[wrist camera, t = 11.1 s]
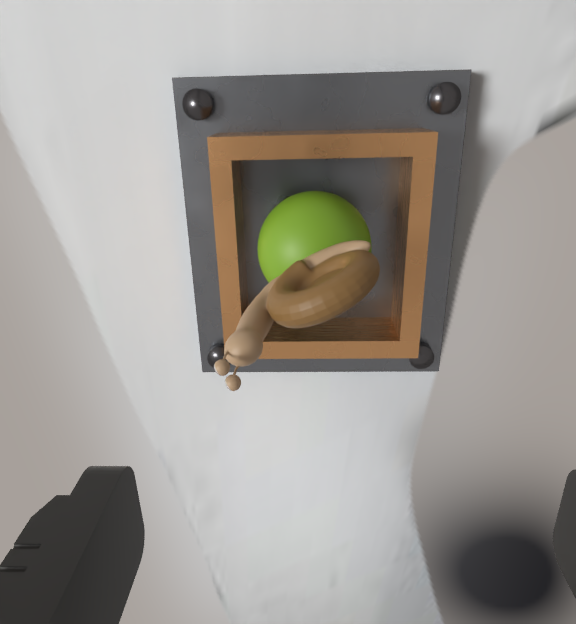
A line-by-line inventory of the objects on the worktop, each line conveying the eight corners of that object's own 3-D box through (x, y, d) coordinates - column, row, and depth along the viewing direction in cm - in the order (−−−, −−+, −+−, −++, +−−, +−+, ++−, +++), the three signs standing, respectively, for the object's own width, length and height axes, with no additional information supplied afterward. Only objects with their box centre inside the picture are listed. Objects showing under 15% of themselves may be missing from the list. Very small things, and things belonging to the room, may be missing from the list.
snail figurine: (227, 225, 26) (170, 316, 15) (334, 162, 25) (356, 212, 14) (279, 307, 28) (262, 442, 17) (382, 252, 27) (436, 361, 16)
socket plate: (177, 78, 25) (154, 75, 21) (465, 70, 24) (493, 65, 20) (205, 363, 31) (192, 399, 27) (434, 363, 30) (452, 399, 27)
